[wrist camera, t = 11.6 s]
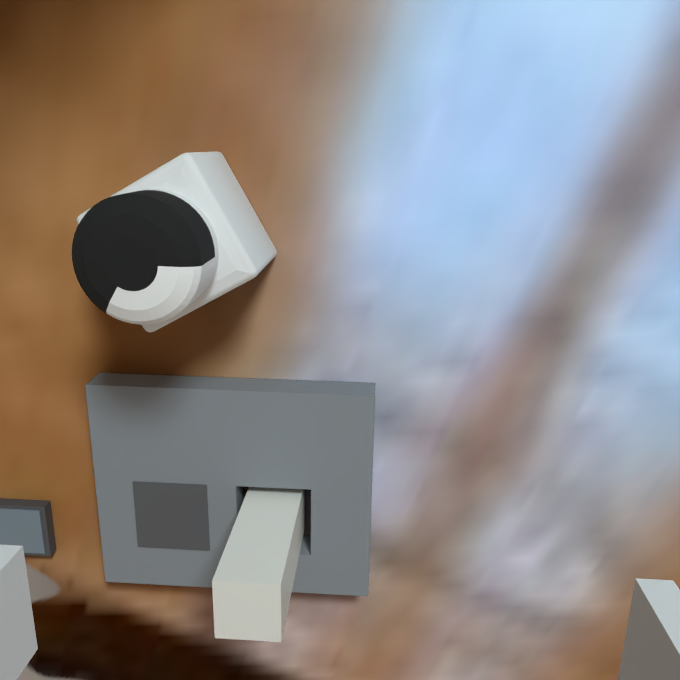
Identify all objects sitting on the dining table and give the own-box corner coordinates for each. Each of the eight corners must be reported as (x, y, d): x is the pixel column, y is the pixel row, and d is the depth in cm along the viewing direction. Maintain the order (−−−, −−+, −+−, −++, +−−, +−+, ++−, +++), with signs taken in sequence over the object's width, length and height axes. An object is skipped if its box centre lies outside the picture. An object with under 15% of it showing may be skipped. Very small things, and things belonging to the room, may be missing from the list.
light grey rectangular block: (252, 478, 49) (212, 580, 38) (304, 481, 49) (280, 584, 37) (253, 525, 50) (214, 637, 39) (304, 527, 50) (281, 642, 38)
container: (124, 206, 44) (21, 230, 31) (221, 149, 42) (153, 150, 30) (184, 305, 45) (109, 365, 33) (279, 253, 44) (239, 297, 32)
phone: (-49, 496, 51) (-57, 502, 50) (50, 500, 51) (43, 507, 50) (-41, 544, 52) (-49, 551, 51) (56, 549, 52) (50, 557, 51)
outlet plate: (100, 372, 47) (84, 385, 45) (375, 382, 46) (374, 396, 44) (118, 561, 52) (104, 582, 49) (368, 575, 51) (368, 597, 48)
